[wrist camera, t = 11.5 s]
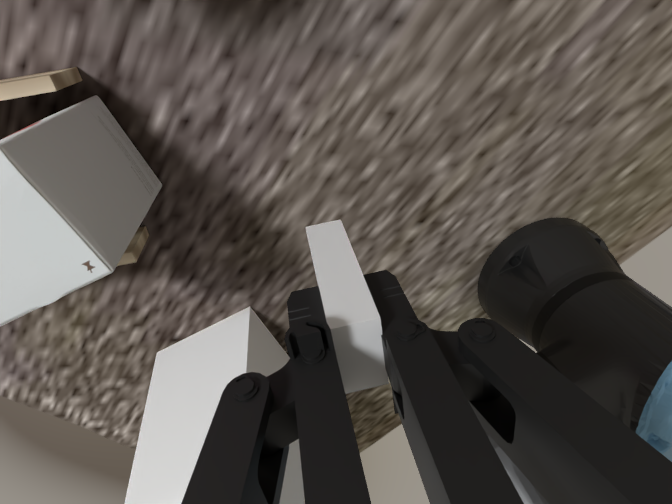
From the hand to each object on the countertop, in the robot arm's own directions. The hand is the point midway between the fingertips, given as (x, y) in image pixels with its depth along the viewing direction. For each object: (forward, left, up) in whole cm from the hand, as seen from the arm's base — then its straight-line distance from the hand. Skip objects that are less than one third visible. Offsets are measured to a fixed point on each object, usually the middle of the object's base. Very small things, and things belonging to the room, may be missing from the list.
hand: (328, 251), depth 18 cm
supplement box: (0, +18, -23) cm, 29 cm away
